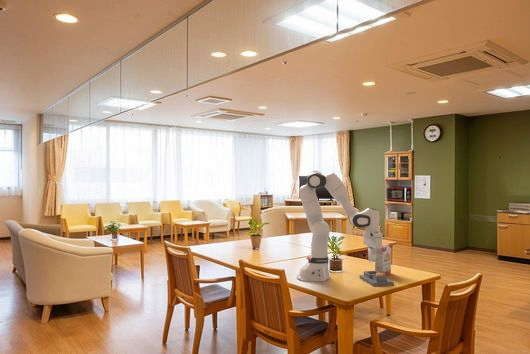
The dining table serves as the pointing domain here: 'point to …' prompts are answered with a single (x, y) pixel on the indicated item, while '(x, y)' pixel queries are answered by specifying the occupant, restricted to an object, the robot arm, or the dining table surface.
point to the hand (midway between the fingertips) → (372, 253)
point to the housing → (375, 279)
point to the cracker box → (383, 259)
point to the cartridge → (371, 254)
